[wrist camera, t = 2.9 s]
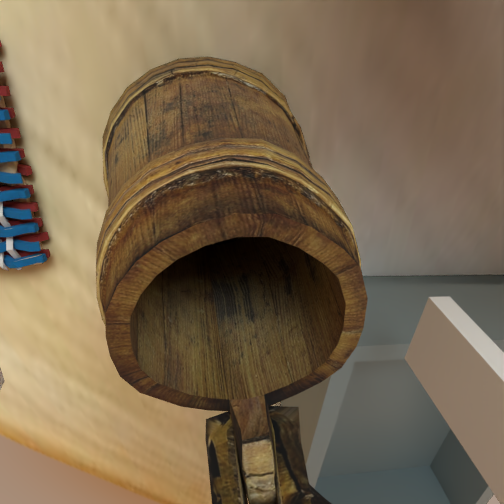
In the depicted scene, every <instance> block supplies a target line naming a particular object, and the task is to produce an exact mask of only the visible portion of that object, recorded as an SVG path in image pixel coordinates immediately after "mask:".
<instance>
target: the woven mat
mask: <svg viewBox="0 0 504 504" xmlns="http://www.w3.org/2000/svg"><path fill="white" fill-rule="evenodd" d="M0 47H2V45H1V41H0ZM0 72H4V68H3V64H2V62H0ZM10 95H11V94H10V90H9V86H0V182H3V183H5V184H6V185H0V267H1V268H2V269H4V270H8V269H7V267H6V266H8V267H9V268H16V270H21V269H22V267H24V266H27V265H31V264H33V265H39V264H43V263H44V262H45V261H46V260H47V258H49V257H50V252H49V249H43V248H42V244H41V241H44V240H48V239H49V237H48V232H43V233H39V232H38V230H39V227H42V225H43V221H42V218H35V217H34V213H33V212H37V211H38V210H39V208H38V204H37V202H31V201H30V197H31V195H30V194H33V193H34V190H33V185H26V182H25V179H24V178H23V177H22V175H25V176H28V175H30V174H32V169H31V166H28V165H24V164H18V161H19V160H21V158H24V157H25V153H24V149H19V148H16V144H15V140H14V138H20V137H21V135H20V131H19V128H11V125H10V121H9V119H11V118H14V117H15V112H14V108H6V106H5V102H4V98H3V96H10ZM21 174H22V175H21ZM8 200H14V202H10V201H8ZM5 217H9V219H6V218H5ZM8 271H9V270H8Z"/></svg>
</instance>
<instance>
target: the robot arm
mask: <svg viewBox="0 0 504 504" xmlns="http://www.w3.org/2000/svg"><path fill="white" fill-rule="evenodd" d="M405 360H406V361H407V363H408V364H409V366H410V367H411V369H412V370H413V372H414V374H415V375H416V377H417V378H418V380H419V381H420V383H421V384H422V386H423V387H424V389H425V390H426V392H427V393H428V395H429V396H430V398H431V399H432V401H433V402H434V404H435V405H436V407H437V408H438V410H439V411H440V413H441V414H442V416H443V418H444V419H445V421H446V422H447V424H448V425H449V427H450V428H451V430H452V431H453V433H454V434H455V436H456V437H457V439H458V440H459V442H460V443H461V445H462V446H463V448H464V449H465V451H466V452H467V454H468V455H469V457H470V458H471V460H472V462H473V463H474V465H475V466H476V468H477V469H478V471H479V472H480V474H481V475H482V477H483V478H484V480H485V481H486V483H487V484H488V486H489V487H490V489H491V490H492V492H493V493H494V495H495V496H496V498H497V499H498V501H499V502H500V504H504V352H503V351H502V350H501V349H500V348H499V347H498V346H497V345H496V344H495V343H494V342H493V341H492V340H491V339H490V338H489V337H488V336H487V335H486V334H485V333H484V332H483V331H482V329H481V328H480V327H479V326H478V325H477V324H476V323H475V322H474V321H473V320H472V319H471V318H470V317H469V316H468V315H467V314H466V313H465V312H464V311H463V310H462V309H461V308H460V307H459V306H458V305H457V303H456V302H455V301H454V300H453V299H452V298H451V297H450V296H448V297H429V298H428V300H427V303H426V305H425V308H424V310H423V313H422V315H421V318H420V320H419V323H418V325H417V328H416V330H415V333H414V335H413V338H412V341H411V343H410V346H409V348H408V351H407V353H406V356H405ZM3 383H4V378H3V375H2V372H1V368H0V390H1V387H2V385H3Z"/></svg>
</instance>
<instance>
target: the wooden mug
mask: <svg viewBox="0 0 504 504" xmlns="http://www.w3.org/2000/svg"><path fill="white" fill-rule="evenodd" d="M103 174H104V183H105V187H106V191H107V195H108V198H109V208H108V210H107V211H106V214H105V218H104V221H103V225H102V228H101V231H100V235H99V238H98V242H97V261H96V283H97V300H98V304H99V308H100V312H101V316H102V320H103V322H104V324H105V326H106V339H107V344H108V348H109V353H110V357H111V359H112V361H113V363H114V365H115V367H116V369H117V371H118V373H119V375H120V377H122V378H123V379H124V380H125V381H126V382H128V383H129V384H130V385H131V386H133V387H134V388H135V389H136V390H138V391H139V392H140V393H143V394H146V395H149V396H152V397H155V398H158V399H161V400H164V401H167V402H170V403H173V404H176V405H179V406H183V407H190V408H196V409H203V410H216V411H228V412H225V413H223V414H220V415H217V416H214V417H212V418H209V419H206V446H207V454H208V464H209V475H210V485H211V496H212V504H248V501H249V504H332V503H330V502H329V501H328V500H326V499H325V498H324V497H323V496H322V495H321V494H320V493H319V492H317V491H316V490H315V489H314V488H313V487H312V486H311V485H310V484H309V480H308V475H307V470H306V465H305V459H304V454H303V449H302V444H301V434H300V422H299V407H286V406H270V405H273V404H275V403H278V402H280V401H282V400H285V399H287V398H290V397H292V396H294V395H297V394H299V393H301V392H303V391H305V390H307V389H309V388H311V387H313V386H315V385H317V384H319V383H321V382H322V381H324V380H325V379H327V378H328V377H329V376H331V375H332V374H334V373H335V372H336V371H338V370H339V369H341V368H342V366H343V365H344V364H345V362H346V361H347V359H348V358H349V357H350V355H351V354H352V352H353V351H354V350H355V348H356V347H357V344H358V341H359V339H360V336H361V333H362V331H363V328H364V321H365V314H366V307H367V301H368V297H367V293H366V289H365V285H364V280H363V276H362V272H361V259H360V255H359V251H358V247H357V244H356V240H355V236H354V232H353V228H352V225H351V223H350V221H349V219H348V217H347V216H346V214H345V212H344V210H343V208H342V206H341V204H340V202H339V200H338V198H337V197H336V196H335V194H334V193H333V191H332V190H331V189H330V187H329V186H328V185H327V183H326V182H325V180H324V179H323V178H322V177H321V176H320V175H319V174H318V173H317V172H315V171H314V169H313V167H312V165H311V163H310V160H309V154H308V150H307V147H306V144H305V140H304V137H303V134H302V130H301V127H300V125H299V124H298V122H297V121H296V119H295V118H294V116H293V115H292V113H291V112H290V109H289V106H288V104H287V101H286V98H285V96H284V95H283V94H282V93H281V92H280V91H279V90H278V89H277V88H276V87H275V86H274V85H273V84H272V83H271V82H270V81H269V80H268V79H267V78H266V77H265V76H264V75H263V74H261V73H259V72H257V71H254V70H252V69H250V68H247V67H245V66H243V65H240V64H238V63H236V62H231V61H226V60H221V59H217V58H212V57H197V58H185V59H177V60H175V61H172V62H169V63H167V64H164V65H162V66H159V67H156V68H154V69H151V70H150V71H148V72H147V73H146V74H144V75H143V76H142V77H140V78H139V79H138V80H136V81H135V82H134V83H132V84H131V85H130V86H128V87H127V88H126V90H125V91H124V93H123V94H122V96H121V97H120V99H119V100H118V102H117V103H116V105H115V106H114V108H113V109H112V111H111V113H110V116H109V119H108V122H107V125H106V128H105V131H104V135H103ZM246 495H247V496H246ZM247 498H248V501H247Z"/></svg>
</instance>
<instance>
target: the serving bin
mask: <svg viewBox="0 0 504 504" xmlns="http://www.w3.org/2000/svg"><path fill="white" fill-rule="evenodd" d="M363 280H364V285H365V289H366V293H367V297H368V301H367V307H366V314H365V321H364V328H363V331H362V333H361V336H360V339H359V341H358V344H357V347H356V348H355V350H354V351H353V352H352V354H351V355H350V357H349V358H348V359H347V361H346V362H345V364H344V365H343V366H342V368H341V369H339V370H338V371H336V372H335V373H334V374H332V375H331V376H329V377H328V378H327V379H325V380H324V381H322V382H321V383H319V384H317V385H315V386H313V387H311V388H309V389H307V390H305V391H303V392H301V393H299V394H297V395H294V396H292V397H290V398H287V399H285V400H282V401H281V405H280V406H286V407H299V422H300V434H301V444H302V449H303V454H304V459H305V465H306V470H307V475H308V480H309V484H310V485H311V486H312V487H313V488H314V489H315V490H316V491H317V492H319V493H320V494H321V495H322V496H323V497H324V498H325V499H326V500H328V501H329V502H330V503H332V504H487V503H488V501H489V500H490V499H491V497H492V496H493V495H494V493H493V492H492V490H491V489H490V487H489V486H488V484H487V483H486V481H485V480H484V478H483V477H482V475H481V474H480V472H479V471H478V469H477V468H476V466H475V465H474V463H473V462H472V460H471V458H470V457H469V455H468V454H467V452H466V451H465V449H464V448H463V446H462V445H461V443H460V442H459V440H458V439H457V437H456V436H455V434H454V433H453V431H452V430H451V428H450V427H449V425H448V424H447V422H446V421H445V419H444V418H443V416H442V414H441V413H440V411H439V410H438V408H437V407H436V405H435V404H434V402H433V401H432V399H431V398H430V396H429V395H428V393H427V392H426V390H425V389H424V387H423V386H422V384H421V383H420V381H419V380H418V378H417V377H416V375H415V374H414V372H413V370H412V369H411V367H410V366H409V364H408V363H407V361H406V360H405V356H406V353H407V351H408V348H409V346H410V343H411V341H412V338H413V335H414V333H415V330H416V328H417V325H418V323H419V320H420V318H421V315H422V313H423V310H424V308H425V305H426V303H427V300H428V298H429V297H448V296H450V297H451V298H452V299H453V300H454V301H455V302H456V303H457V305H458V306H459V307H460V308H461V309H462V310H463V311H464V312H465V313H466V314H467V315H468V316H469V317H470V318H471V319H472V320H473V321H474V322H475V323H476V324H477V325H478V326H479V327H480V328H481V329H482V331H483V332H484V333H485V334H486V335H487V336H488V337H489V338H490V339H491V340H492V341H493V342H494V343H495V344H496V345H497V346H498V347H499V348H500V349H501V350H502V351H503V352H504V275H453V276H363Z"/></svg>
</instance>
